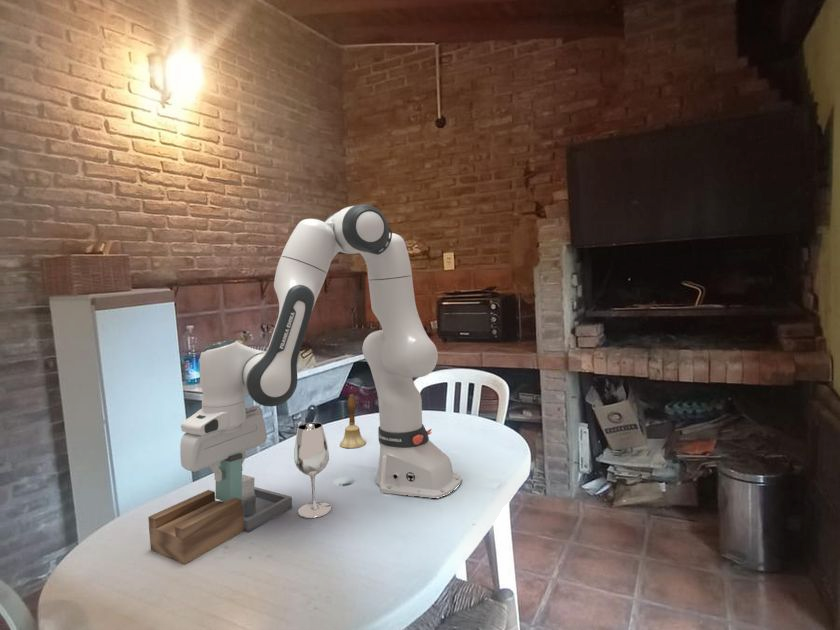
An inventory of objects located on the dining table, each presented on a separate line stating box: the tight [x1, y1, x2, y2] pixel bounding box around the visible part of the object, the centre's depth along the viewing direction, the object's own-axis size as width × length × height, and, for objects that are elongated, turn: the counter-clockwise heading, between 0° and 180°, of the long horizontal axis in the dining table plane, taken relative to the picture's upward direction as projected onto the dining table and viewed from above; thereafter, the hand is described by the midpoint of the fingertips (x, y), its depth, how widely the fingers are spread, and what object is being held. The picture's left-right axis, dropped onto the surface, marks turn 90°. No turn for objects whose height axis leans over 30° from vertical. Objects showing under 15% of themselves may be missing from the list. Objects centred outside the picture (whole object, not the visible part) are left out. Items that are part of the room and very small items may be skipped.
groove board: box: [147, 489, 245, 565], centre depth 106 cm, size 11×14×7 cm
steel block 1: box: [241, 474, 256, 500], centre depth 116 cm, size 4×4×4 cm
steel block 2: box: [241, 494, 256, 517], centre depth 117 cm, size 4×4×4 cm
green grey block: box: [215, 453, 243, 502], centre depth 113 cm, size 5×3×10 cm, turn 59°
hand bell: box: [339, 393, 367, 449], centre depth 162 cm, size 8×8×16 cm
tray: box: [218, 486, 293, 533], centre depth 118 cm, size 14×13×2 cm
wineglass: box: [293, 422, 332, 519], centre depth 117 cm, size 8×8×20 cm
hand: (229, 476), depth 113 cm, fingers closed on green grey block, 3 cm apart
